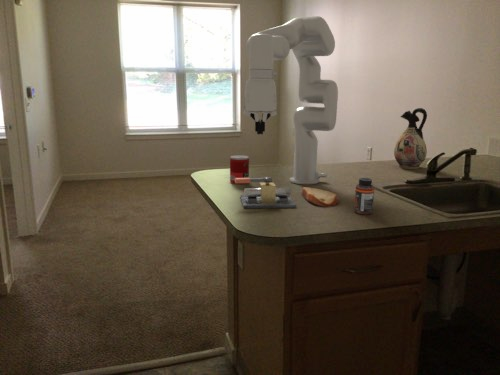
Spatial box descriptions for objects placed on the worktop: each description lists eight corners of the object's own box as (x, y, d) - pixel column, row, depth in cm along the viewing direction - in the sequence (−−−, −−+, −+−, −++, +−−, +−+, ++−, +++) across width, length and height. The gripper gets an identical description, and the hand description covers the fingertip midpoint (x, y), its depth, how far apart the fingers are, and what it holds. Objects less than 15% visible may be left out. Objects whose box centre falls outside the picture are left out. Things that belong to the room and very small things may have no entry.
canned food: (246, 184, 183) (247, 158, 181) (227, 183, 185) (228, 157, 182) (250, 181, 190) (250, 155, 188) (232, 179, 192) (232, 154, 189)
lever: (270, 180, 158) (270, 176, 157) (273, 182, 154) (273, 178, 154) (234, 181, 155) (234, 177, 154) (236, 183, 152) (236, 179, 151)
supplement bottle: (351, 209, 150) (353, 177, 147) (368, 209, 150) (371, 176, 148) (357, 215, 144) (359, 181, 141) (375, 214, 145) (377, 180, 142)
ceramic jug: (388, 168, 223) (393, 107, 216) (397, 163, 235) (403, 106, 228) (423, 172, 214) (430, 109, 207) (431, 167, 226) (438, 107, 219)
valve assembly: (288, 196, 165) (288, 176, 163) (296, 207, 152) (297, 185, 150) (239, 197, 163) (240, 177, 161) (243, 208, 150) (243, 186, 148)
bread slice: (305, 191, 176) (305, 182, 175) (349, 198, 166) (349, 188, 165) (283, 201, 161) (284, 191, 160) (330, 209, 151) (331, 198, 151)
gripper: (282, 76, 144) (280, 132, 149) (236, 75, 143) (235, 132, 147) (286, 75, 137) (284, 135, 142) (238, 75, 136) (237, 135, 140)
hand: (259, 133), depth 144 cm, fingers closed
